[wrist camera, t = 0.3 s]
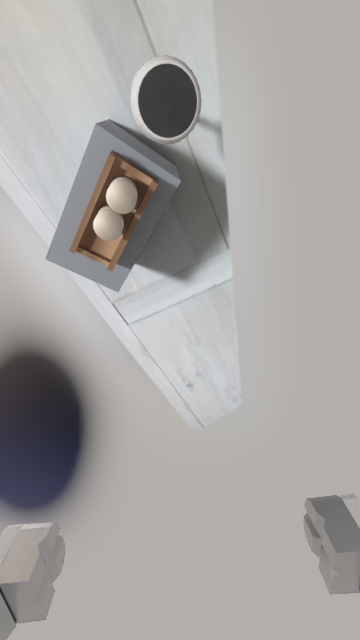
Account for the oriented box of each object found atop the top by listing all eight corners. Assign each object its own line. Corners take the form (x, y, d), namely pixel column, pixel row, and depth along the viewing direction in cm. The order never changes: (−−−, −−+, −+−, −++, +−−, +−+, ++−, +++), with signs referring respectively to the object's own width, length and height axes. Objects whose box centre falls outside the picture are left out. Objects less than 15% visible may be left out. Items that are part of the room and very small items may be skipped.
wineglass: (196, 114, 44) (222, 119, 27) (155, 144, 46) (156, 166, 29) (170, 56, 40) (182, 22, 23) (127, 92, 42) (108, 85, 25)
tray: (157, 179, 38) (158, 189, 34) (114, 263, 44) (109, 279, 40) (112, 150, 35) (106, 156, 31) (73, 243, 42) (64, 258, 38)
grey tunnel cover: (109, 119, 43) (95, 123, 34) (175, 165, 48) (181, 181, 38) (65, 230, 53) (45, 259, 43) (124, 259, 58) (118, 292, 48)
